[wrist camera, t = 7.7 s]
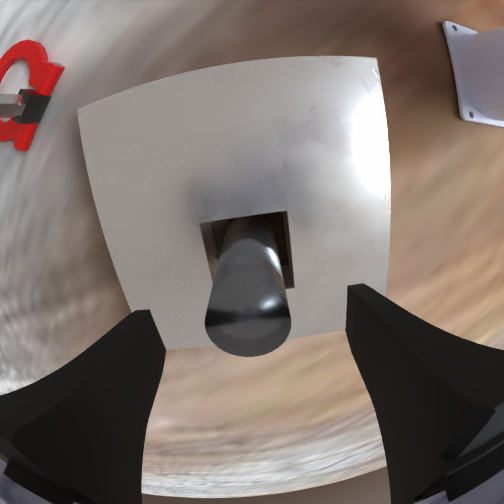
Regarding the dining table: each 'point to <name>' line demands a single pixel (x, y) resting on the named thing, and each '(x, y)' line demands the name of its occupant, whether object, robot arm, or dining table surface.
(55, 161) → the dining table surface
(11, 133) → the tow hook
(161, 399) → the dining table surface
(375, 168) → the bore block
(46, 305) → the dining table surface
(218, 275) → the pin
